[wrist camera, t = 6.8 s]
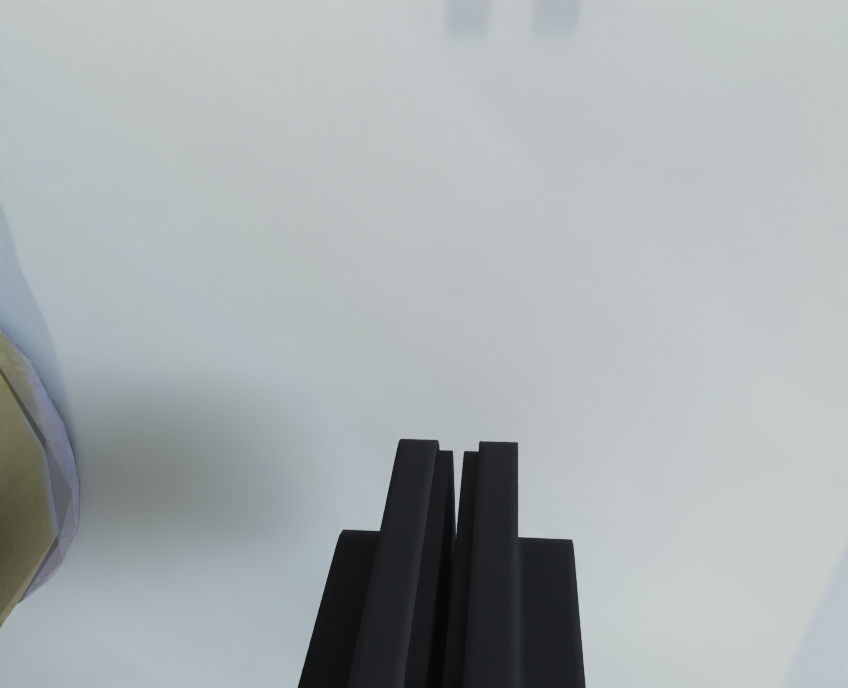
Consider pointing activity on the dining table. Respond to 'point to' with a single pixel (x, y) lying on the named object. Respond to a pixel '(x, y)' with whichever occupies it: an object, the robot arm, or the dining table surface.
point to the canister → (31, 481)
